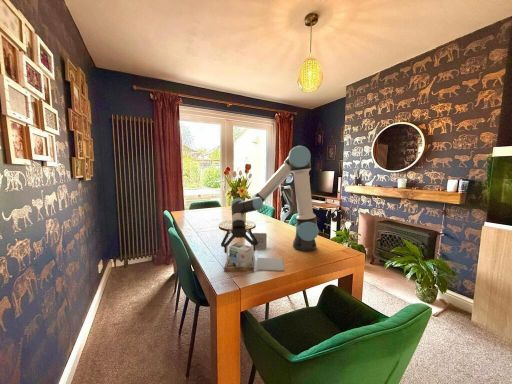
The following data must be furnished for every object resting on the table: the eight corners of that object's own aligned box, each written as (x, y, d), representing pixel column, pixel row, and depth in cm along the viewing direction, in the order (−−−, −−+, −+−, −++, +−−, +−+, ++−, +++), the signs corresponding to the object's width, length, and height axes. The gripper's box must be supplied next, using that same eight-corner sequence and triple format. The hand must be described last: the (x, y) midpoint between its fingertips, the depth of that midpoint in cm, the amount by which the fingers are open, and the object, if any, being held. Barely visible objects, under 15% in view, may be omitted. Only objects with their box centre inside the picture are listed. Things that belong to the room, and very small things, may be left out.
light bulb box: (228, 265, 114) (228, 246, 113) (236, 260, 120) (236, 242, 118) (245, 270, 108) (245, 250, 107) (252, 265, 114) (252, 246, 113)
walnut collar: (254, 259, 122) (254, 255, 122) (254, 271, 107) (254, 268, 107) (228, 258, 122) (228, 255, 122) (224, 271, 108) (224, 267, 107)
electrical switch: (252, 247, 139) (252, 233, 139) (252, 245, 144) (253, 231, 144) (266, 248, 138) (266, 234, 138) (266, 246, 144) (266, 232, 143)
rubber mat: (281, 259, 122) (281, 258, 122) (284, 271, 109) (284, 269, 108) (257, 258, 123) (257, 257, 123) (257, 270, 109) (257, 269, 109)
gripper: (258, 225, 130) (262, 259, 117) (217, 226, 126) (216, 261, 113) (260, 218, 124) (264, 253, 111) (216, 219, 120) (216, 256, 107)
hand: (240, 258), depth 112 cm, fingers open, 13 cm apart
